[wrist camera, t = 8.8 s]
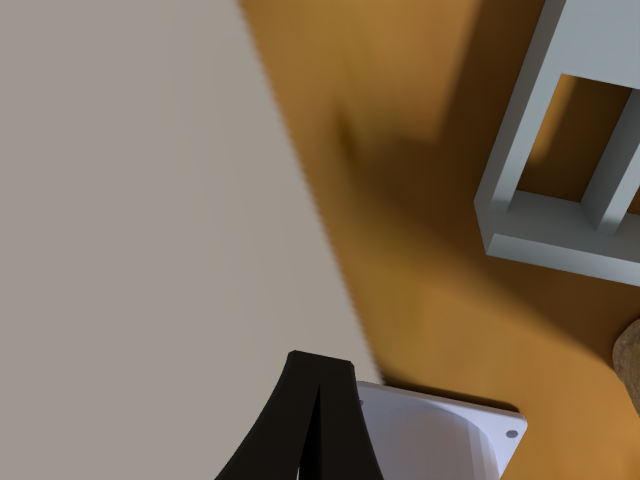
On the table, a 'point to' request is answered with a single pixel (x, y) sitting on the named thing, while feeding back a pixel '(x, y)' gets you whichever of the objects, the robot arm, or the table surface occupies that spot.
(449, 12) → the table surface
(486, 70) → the table surface
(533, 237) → the trap box
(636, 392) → the sprinkles bottle
